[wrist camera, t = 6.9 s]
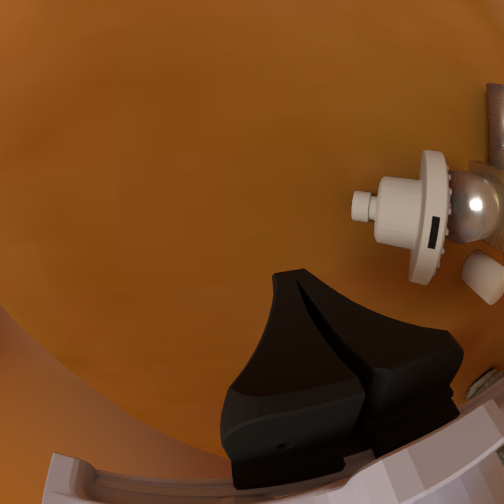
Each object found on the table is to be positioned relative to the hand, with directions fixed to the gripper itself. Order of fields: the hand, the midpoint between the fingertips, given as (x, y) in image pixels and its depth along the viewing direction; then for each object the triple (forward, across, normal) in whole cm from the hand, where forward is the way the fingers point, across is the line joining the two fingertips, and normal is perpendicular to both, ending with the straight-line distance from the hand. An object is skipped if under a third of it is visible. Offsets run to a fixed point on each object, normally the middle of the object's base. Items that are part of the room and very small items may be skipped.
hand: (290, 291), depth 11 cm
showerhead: (+9, -7, 0) cm, 11 cm away
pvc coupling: (+10, -25, +9) cm, 28 cm away
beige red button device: (+9, -21, -4) cm, 24 cm away
